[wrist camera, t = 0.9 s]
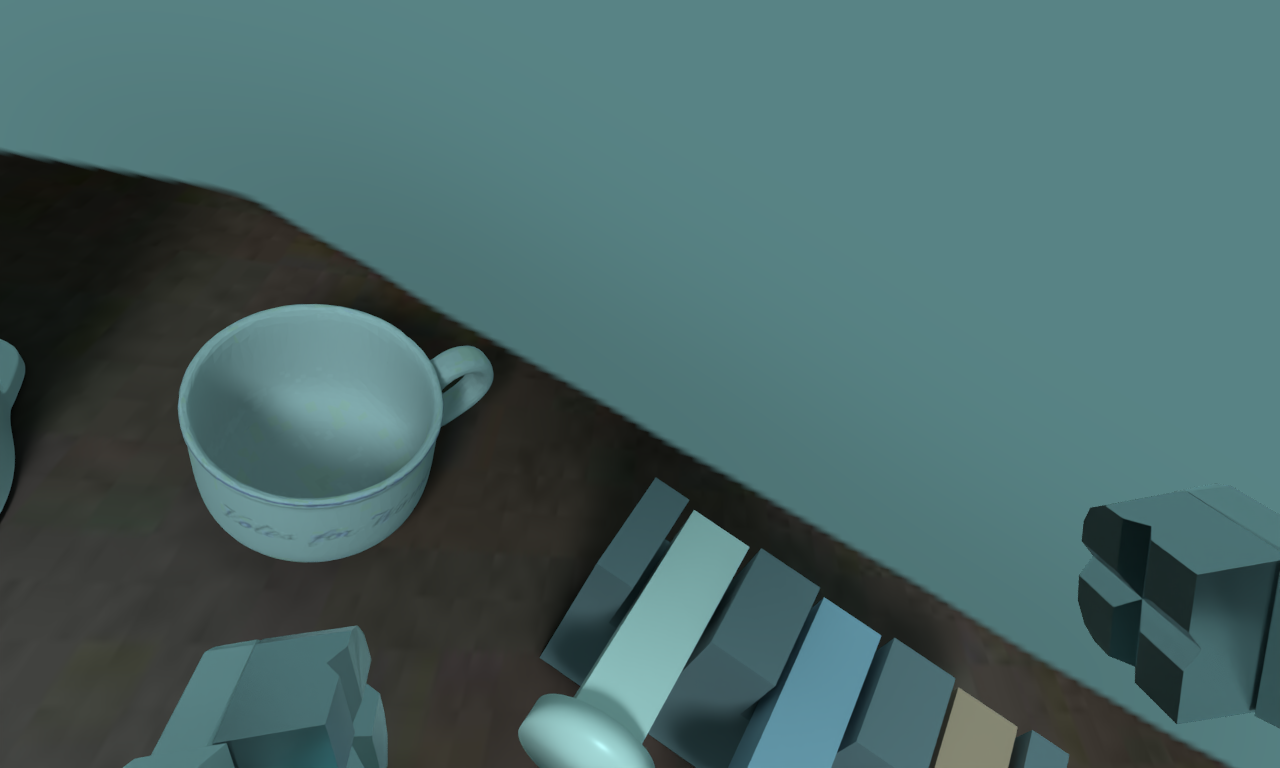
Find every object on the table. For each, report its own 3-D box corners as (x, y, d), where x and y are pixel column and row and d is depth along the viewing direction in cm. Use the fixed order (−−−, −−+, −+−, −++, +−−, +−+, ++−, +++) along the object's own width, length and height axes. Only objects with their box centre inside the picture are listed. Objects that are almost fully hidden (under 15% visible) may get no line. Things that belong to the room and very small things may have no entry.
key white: (506, 746, 34) (534, 705, 30) (644, 537, 42) (681, 482, 38) (616, 825, 34) (658, 793, 30) (736, 599, 41) (782, 550, 37)
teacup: (207, 613, 40) (194, 528, 34) (178, 410, 45) (162, 306, 39) (509, 546, 46) (543, 465, 40) (453, 375, 51) (476, 281, 45)
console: (539, 657, 43) (596, 563, 35) (592, 579, 46) (655, 477, 38) (901, 912, 41) (1047, 872, 33) (930, 812, 44) (1069, 754, 36)
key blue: (649, 849, 34) (696, 819, 30) (764, 618, 41) (813, 571, 37) (763, 930, 33) (824, 911, 29) (859, 682, 40) (918, 641, 37)
